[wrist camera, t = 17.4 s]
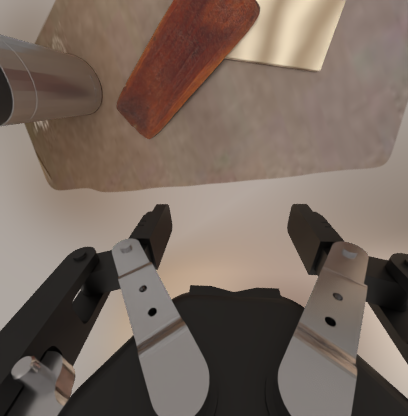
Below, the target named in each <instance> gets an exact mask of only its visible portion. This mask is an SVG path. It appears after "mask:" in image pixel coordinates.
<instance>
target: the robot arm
mask: <svg viewBox="0 0 408 416" xmlns="http://www.w3.org/2000/svg"><path fill="white" fill-rule="evenodd" d="M101 100H102V90H101V85H100V82H99V80H98V77H97V76H96V74H95V72H94V71H93V69H92V68H91V67H90V66H89V65H88V64H87V63H86V62H85V61H84V60H82V59H81V58H79V57H77V56H74V55H71V54H67V53H64V52H60V51H57V50H54V49H50V48H47V47H43V46H40V45H36V44H32V43H29V42H25V41H22V40H18V39H15V38H11V37H7V36H4V35H0V126H6V125H13V124H20V123H28V122H35V121H43V120H51V119H58V118H66V117H74V116H82V115H89V114H92V113H94V112H95V111H97V109H98V108H99V106H100V104H101ZM287 229H288V233H289V236H290V238H291V240H292V242H293V244H294V246H295V248H296V250H297V252H298V254H299V256H300V258H301V260H302V262H303V264H304V266H305V268H306V270H307V272H308V274H309V275H318V279H317V282H316V284H315V286H314V288H313V291H312V293H311V295H310V298H309V300H308V302H307V305H306V307H305V308H304V307H302V306H301V305H299V304H298V303H296V302H294V301H292V300H290V299H287V298H285V297H282V296H281V295H280V291H279V289H274V288H273V289H272V288H253V289H248V290H243V291H238V292H230V291H227V290H224V289H220V288H216V287H212V286H194V285H191V286H190V292H188V293H185V294H181V295H179V296H177V297H175V298H173V299H172V300H171V298H170V296H169V294H168V292H167V290H166V288H165V287H164V285H163V283H162V281H161V279H160V277H159V275H158V273H157V271H156V270H157V269H158V267H159V265H160V262H161V259H162V257H163V253H164V251H165V248H166V245H167V243H168V240H169V237H170V234H171V232H172V220H171V214H170V209H169V205H168V204H157V205H156V206H155V208H154V210H153V211H152V212H148V213H147V214H146V215H144V216H143V217H142V219H141V220H140V222H139V223H138V226H136V228H135V229H134V231H133V232H132V234H131V235H130V237H129V238H128V239H125V240H122V241H120V242H118V243H117V244H116V245H115V246H114V247H113V249H112V250H111V251H107V252H102V253H96V251H95V249H94V248H92V247H83V248H80V249H77V250H75V251H73V252H72V253H71V254H69V255H68V256H67V257H66V258H65V259H64V260H63V261H62V263H61V264H60V265H59V266H58V267H57V268H56V269H55V270H54V272H53V273H52V274H51V275H50V276H49V277H48V278H47V280H46V281H45V282H44V283H43V284H42V285H41V286H40V287H39V289H38V290H37V291H36V292H35V293H34V294H33V295H32V296H31V297H30V299H29V300H28V301H27V302H26V303H25V304H24V305H23V307H22V308H21V309H20V310H19V311H18V312H17V313H16V314H15V315H14V316H13V318H12V319H11V320H10V321H9V322H8V323H7V324H6V326H5V327H4V328H3V329H2V330H1V331H0V416H408V399H407V398H406V397H405V396H404V395H403V394H402V393H400V392H399V391H398V390H397V389H396V388H395V387H393V385H392V384H390V383H389V382H388V381H387V380H386V379H385V378H383V377H382V376H381V375H380V374H379V373H378V372H377V371H376V370H375V369H373V368H372V367H371V366H370V365H369V364H367V362H366V361H364V360H363V359H362V358H361V357H360V356H359V355H358V354H357V349H358V344H359V338H360V331H361V325H362V319H363V313H364V307H365V302H368V304H369V305H370V307H371V308H372V310H373V311H374V313H375V314H376V316H377V318H378V319H379V321H380V322H381V324H382V325H383V327H384V328H385V330H386V331H387V333H388V335H389V336H390V338H391V339H392V341H393V342H394V344H395V345H396V347H397V348H398V350H399V351H400V353H401V355H402V356H403V358H404V359H405V361H406V362H407V364H408V254H403V253H397V254H393V255H392V256H391V257H390V259H389V260H383V259H378V258H374V257H369V256H368V254H367V253H366V251H364V250H363V249H362V248H360V247H359V246H357V245H355V244H352V243H349V242H344V240H343V239H342V238H341V237H340V236H339V234H338V233H337V232H336V231H335V230H334V229H333V228H332V227H331V225H330V224H329V223H328V222H327V220H326V219H325V218H324V217H323V216H321V215H320V214H318V213H317V212H313V211H312V210H311V209H310V207H309V206H308V205H307V204H293V205H292V207H291V212H290V216H289V221H288V227H287ZM80 289H81V291H80V292H79V294H78V295H77V297H76V298H75V300H74V301H73V299H74V297H75V296H76V294H77V293H78V291H79V290H80ZM118 289H121V291H122V295H123V298H124V302H125V305H126V309H127V313H128V316H129V320H130V323H131V327H132V330H133V334H134V335H133V336H132V337H131V338H130V339H129V340H128V341H127V342H126V343H125V344H124V345H123V346H122V347H121V348H120V349H119V350H118V351H117V352H115V353H114V354H113V355H112V356H111V357H110V358H109V359H108V360H107V361H106V362H105V363H104V364H103V365H102V366H101V367H100V368H99V369H98V370H97V371H96V372H95V373H94V374H93V375H91V376H90V377H89V378H88V379H87V380H86V381H85V382H84V383H83V384H82V385H81V386H80V387H79V388H78V389H77V390H76V391H75V393H74V394H72V396H71V393H72V387H73V384H74V381H75V370H74V368H73V365H74V363H75V361H76V359H77V357H78V355H79V353H80V351H81V349H82V347H83V345H84V343H85V341H86V339H87V337H88V335H89V333H90V331H91V329H92V327H93V325H94V323H95V321H96V319H97V317H98V315H99V313H100V311H101V309H102V307H103V306H104V303H105V302H106V300H107V298H108V295H109V294H110V292H111V291H114V290H118ZM70 396H71V397H70Z"/></svg>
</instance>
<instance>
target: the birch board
mask: <svg viewBox="0 0 408 416" xmlns="http://www.w3.org/2000/svg"><path fill="white" fill-rule="evenodd" d="M256 1H257V2H258V4H259V6H260V14H259V16H258V18H257V20H256V21H255V23H254V24H253V26H252V27H251V28H250V30H249V31H248V32H247V33H246V34H245V36H244V37H243V38H242V39H241V40H240V41H239V42H238V44H237V45H236V46H235V47H234V48H233V49H232V50H231V51H230V53H229V54H228V55H227V56H226V57H225V58H224V59H230V60H237V61H244V62H251V63H258V64H265V65H272V66H279V67H286V68H293V69H300V70H307V71H314V72H317V71H320V69H321V67H322V64H323V61H324V58H325V56H326V53H327V50H328V47H329V45H330V42H331V39H332V37H333V34H334V31H335V28H336V26H337V23H338V20H339V17H340V15H341V12H342V9H343V6H344V4H345V1H346V0H256Z"/></svg>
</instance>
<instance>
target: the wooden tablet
mask: <svg viewBox="0 0 408 416" xmlns="http://www.w3.org/2000/svg"><path fill="white" fill-rule="evenodd" d="M259 14H260V6H259V4H258V2H257V1H256V0H173V2H172V4H171V6H170V7H169V9H168V10H167V12H166V14H165V16H164V17H163V18H162V20H161V22H160V23H159V25H158V27H157V29H156V31H155V33H154V34H153V36H152V38H151V40H150V42H149V43H148V45H147V47H146V48H145V50H144V52H143V54H142V56H141V57H140V59H139V61H138V63H137V65H136V67H135V68H134V70H133V72H132V74H131V76H130V77H129V79H128V81H127V83H126V86H125V87H124V88H123V91H122V92H121V94H120V97H119V99H118V102H117V109H118V111H119V112H120V113H121V114H122V115H123V116H124V117H125V118H126V119H127V121H128V122H129V123H130V124H131V125H132V126H134V127H135V128H136V130H137V131H138V132H139V133H140V134H142V135H143V136H144V137H145V138H147V139H150V138H152V137H153V136H155V135H156V134H157V133H158V132H160V131H161V129H162V128H163V127H164V126H165V125H166V124H167V123H168V121H169V120H170V119H171V118H172V117H173V115H174V114H175V113H176V112H177V111H178V110H179V109H180V107H181V106H182V105H183V104H184V103H185V102H186V100H187V99H188V98H189V97H190V96H191V95H192V94H193V93H194V92H195V91H196V89H197V88H198V87H199V86H200V85H201V84H202V83H203V82H204V81H205V79H206V78H207V77H208V76H209V75H210V74H211V73H212V72H213V71H214V69H215V68H216V67H217V66H218V65H219V64H220V63H221V62H222V60H223V59H224V58H225V57H226V56H227V55H228V54H229V53H230V51H231V50H232V49H233V48H234V47H235V46H236V45H237V44H238V42H239V41H240V40H241V39H242V38H243V37H244V36H245V34H246V33H247V32H248V31H249V30H250V28H251V27H252V26H253V24H254V23H255V21H256V20H257V18H258V16H259Z"/></svg>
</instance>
